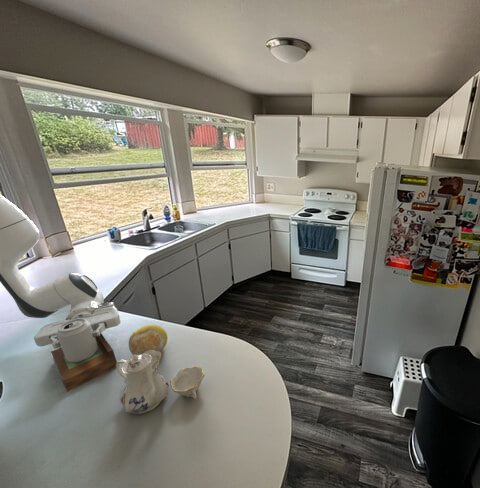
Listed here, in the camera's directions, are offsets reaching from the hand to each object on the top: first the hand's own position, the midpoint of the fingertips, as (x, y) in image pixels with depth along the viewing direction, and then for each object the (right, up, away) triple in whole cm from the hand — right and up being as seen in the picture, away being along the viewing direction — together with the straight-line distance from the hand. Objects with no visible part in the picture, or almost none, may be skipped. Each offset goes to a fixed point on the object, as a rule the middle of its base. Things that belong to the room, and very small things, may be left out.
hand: (77, 340), depth 77 cm
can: (-1, -6, +3) cm, 7 cm away
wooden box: (-2, -10, +5) cm, 11 cm away
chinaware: (+27, -14, -4) cm, 31 cm away
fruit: (+16, -8, +10) cm, 21 cm away
